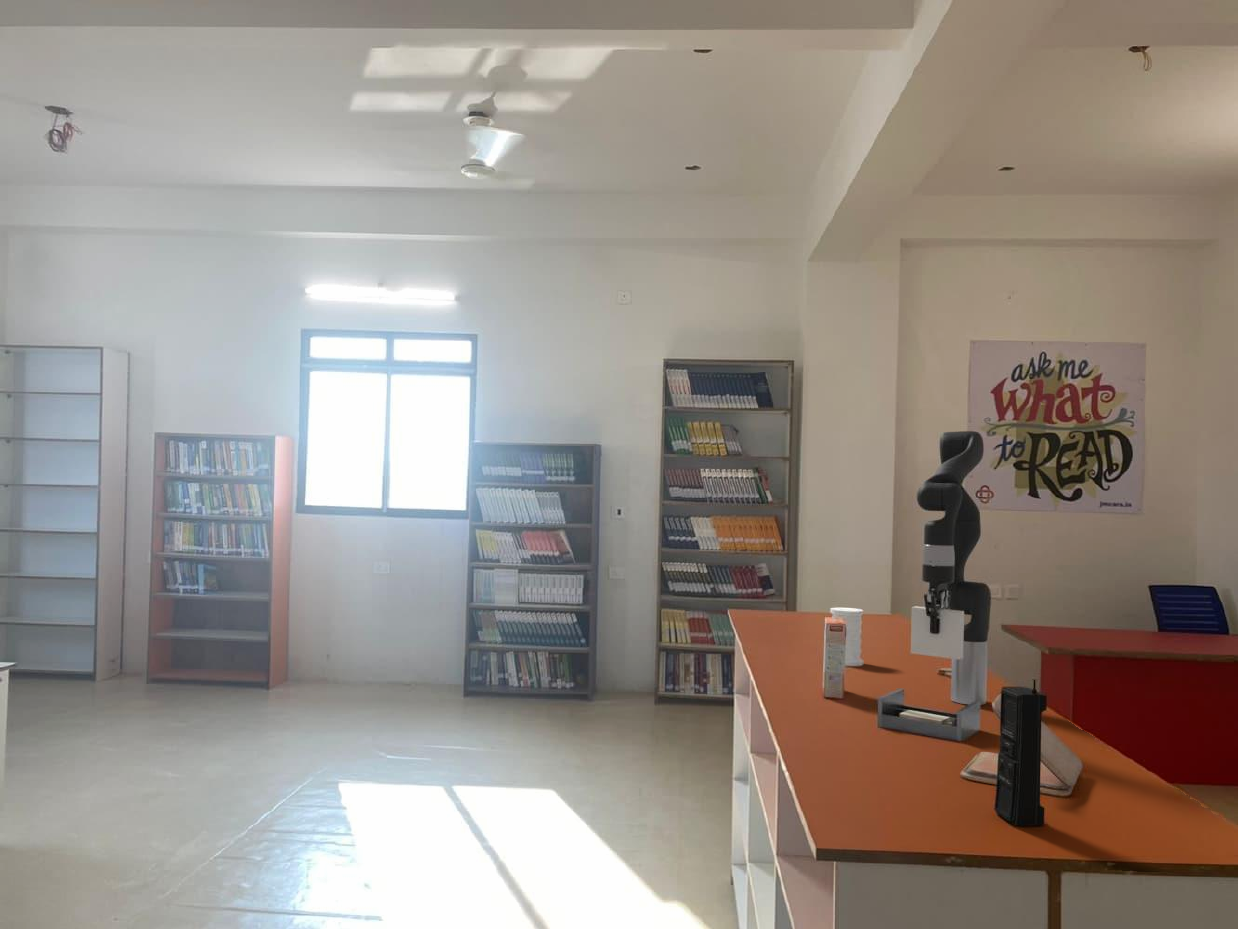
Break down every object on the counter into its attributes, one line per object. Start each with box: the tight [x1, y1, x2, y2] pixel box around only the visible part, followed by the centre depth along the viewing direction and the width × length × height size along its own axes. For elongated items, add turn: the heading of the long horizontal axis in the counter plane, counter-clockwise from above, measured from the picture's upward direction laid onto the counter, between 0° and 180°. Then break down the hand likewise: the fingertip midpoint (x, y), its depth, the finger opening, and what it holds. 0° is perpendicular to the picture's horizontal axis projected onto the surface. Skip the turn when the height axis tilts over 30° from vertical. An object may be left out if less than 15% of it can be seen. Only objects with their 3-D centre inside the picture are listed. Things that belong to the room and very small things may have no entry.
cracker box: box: [822, 616, 846, 700], centre depth 266 cm, size 14×6×21 cm, turn 168°
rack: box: [877, 688, 982, 742], centre depth 229 cm, size 15×20×7 cm
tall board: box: [910, 605, 965, 660], centre depth 233 cm, size 3×12×12 cm, turn 53°
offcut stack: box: [900, 710, 952, 726], centre depth 227 cm, size 6×11×4 cm, turn 53°
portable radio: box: [993, 679, 1048, 827], centre depth 166 cm, size 8×6×25 cm
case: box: [959, 693, 1084, 798], centre depth 191 cm, size 20×21×16 cm
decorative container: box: [829, 606, 864, 667], centre depth 317 cm, size 12×12×18 cm
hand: (937, 632), depth 233 cm, fingers closed on tall board, 3 cm apart
